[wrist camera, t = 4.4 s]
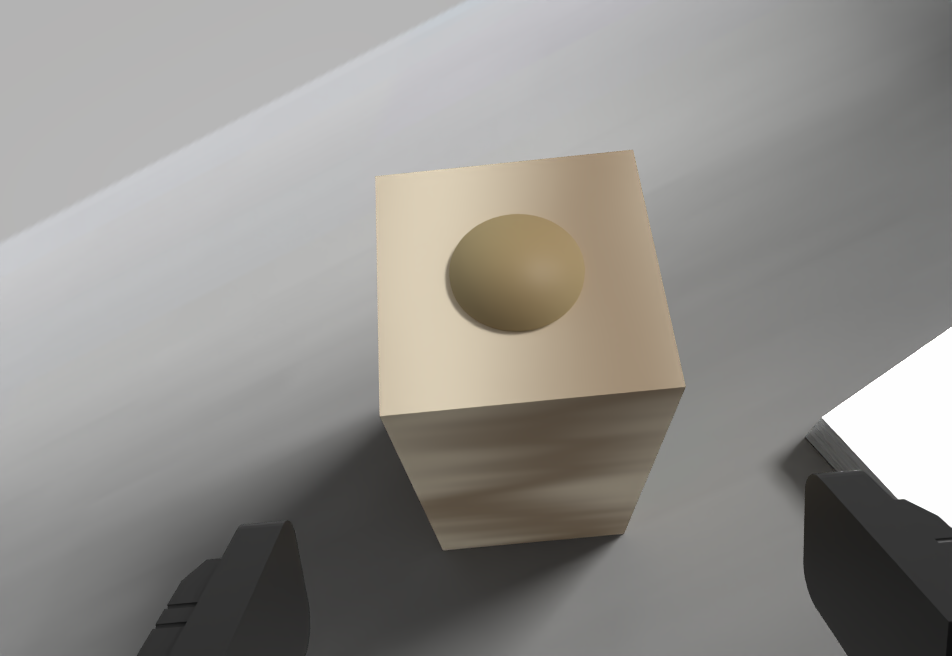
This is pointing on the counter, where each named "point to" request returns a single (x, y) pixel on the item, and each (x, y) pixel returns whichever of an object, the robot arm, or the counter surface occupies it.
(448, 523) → the block
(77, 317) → the counter surface
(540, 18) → the counter surface
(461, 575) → the counter surface
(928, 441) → the press
